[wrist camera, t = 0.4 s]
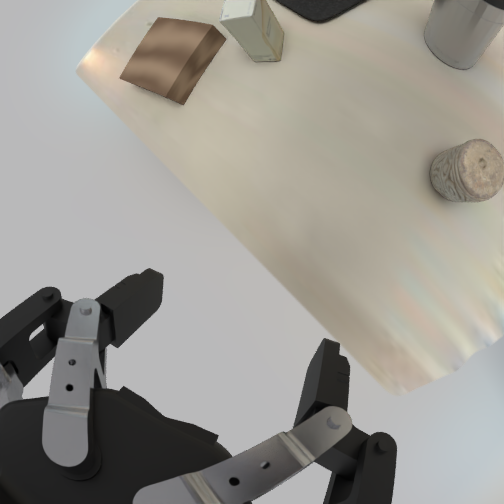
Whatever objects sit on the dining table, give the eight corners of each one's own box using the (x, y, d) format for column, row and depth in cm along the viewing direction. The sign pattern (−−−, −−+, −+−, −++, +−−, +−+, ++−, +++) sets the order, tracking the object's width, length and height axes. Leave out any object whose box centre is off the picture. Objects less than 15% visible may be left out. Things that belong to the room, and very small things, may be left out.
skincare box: (281, 61, 33) (253, 17, 22) (253, 62, 35) (217, 22, 23) (284, 31, 32) (259, -15, 21) (257, 33, 33) (226, -10, 22)
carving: (417, 181, 30) (445, 171, 19) (443, 141, 28) (478, 116, 17) (449, 213, 29) (488, 217, 18) (475, 172, 27) (518, 162, 15)
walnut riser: (173, 28, 38) (158, 17, 33) (226, 39, 35) (212, 25, 31) (136, 85, 42) (119, 78, 38) (183, 105, 40) (165, 96, 35)
